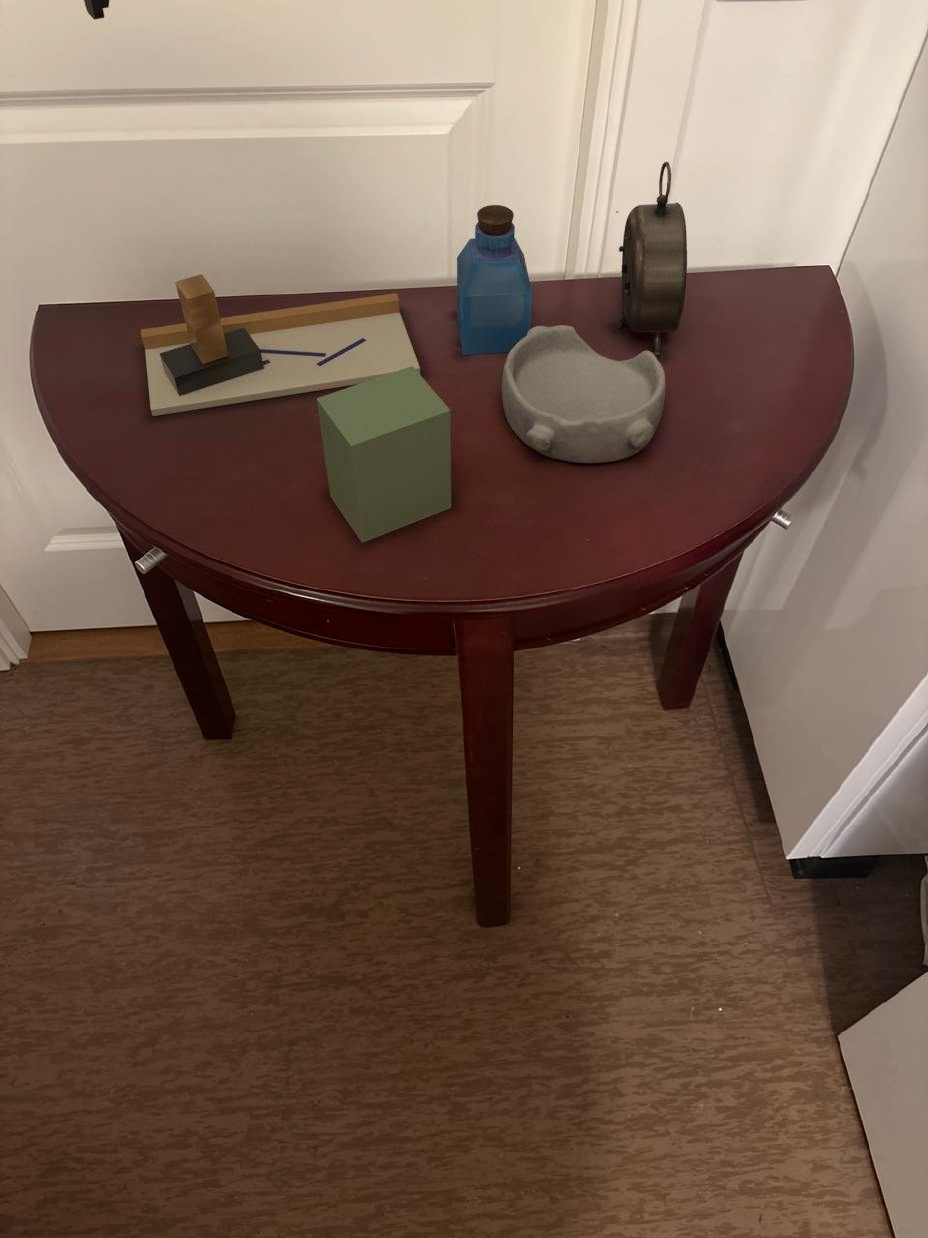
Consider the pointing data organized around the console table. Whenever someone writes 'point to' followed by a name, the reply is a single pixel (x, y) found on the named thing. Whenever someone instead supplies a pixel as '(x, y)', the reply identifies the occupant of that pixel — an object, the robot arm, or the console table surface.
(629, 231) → the alarm clock
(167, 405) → the board
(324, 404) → the block
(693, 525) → the console table surface
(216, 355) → the eraser
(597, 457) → the dish
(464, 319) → the perfume bottle
